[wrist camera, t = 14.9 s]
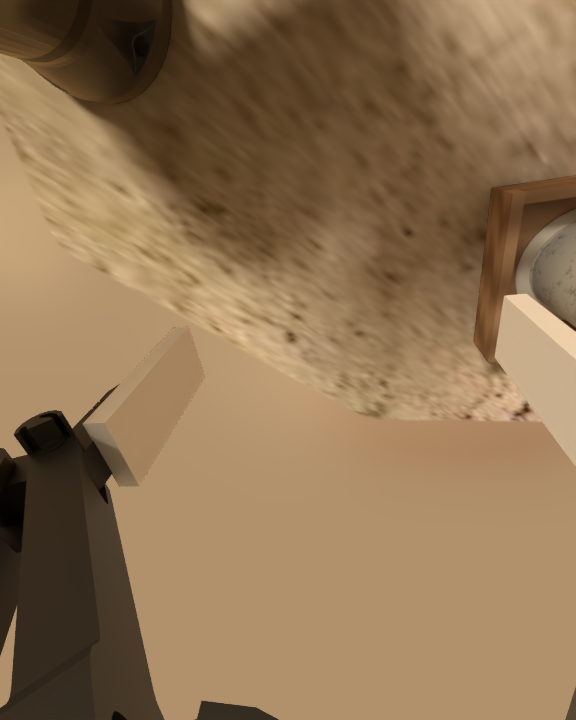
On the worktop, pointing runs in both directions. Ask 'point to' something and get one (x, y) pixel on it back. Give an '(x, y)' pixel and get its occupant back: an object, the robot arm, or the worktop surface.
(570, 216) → the box
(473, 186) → the worktop surface
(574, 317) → the grey speckled cylinder
